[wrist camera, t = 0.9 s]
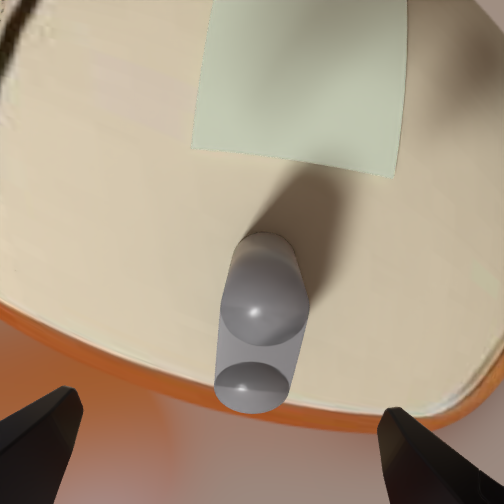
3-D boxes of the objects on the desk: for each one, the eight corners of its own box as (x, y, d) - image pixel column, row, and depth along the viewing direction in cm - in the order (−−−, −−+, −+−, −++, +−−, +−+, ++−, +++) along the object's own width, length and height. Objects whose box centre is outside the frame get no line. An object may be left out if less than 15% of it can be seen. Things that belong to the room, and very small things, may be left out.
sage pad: (402, -11, 13) (406, -14, 13) (389, 178, 18) (393, 179, 17) (225, -44, 13) (224, -49, 12) (193, 148, 17) (191, 148, 17)
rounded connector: (300, 236, 19) (317, 274, 13) (274, 373, 22) (276, 433, 17) (235, 228, 19) (224, 263, 13) (221, 368, 22) (211, 427, 17)
